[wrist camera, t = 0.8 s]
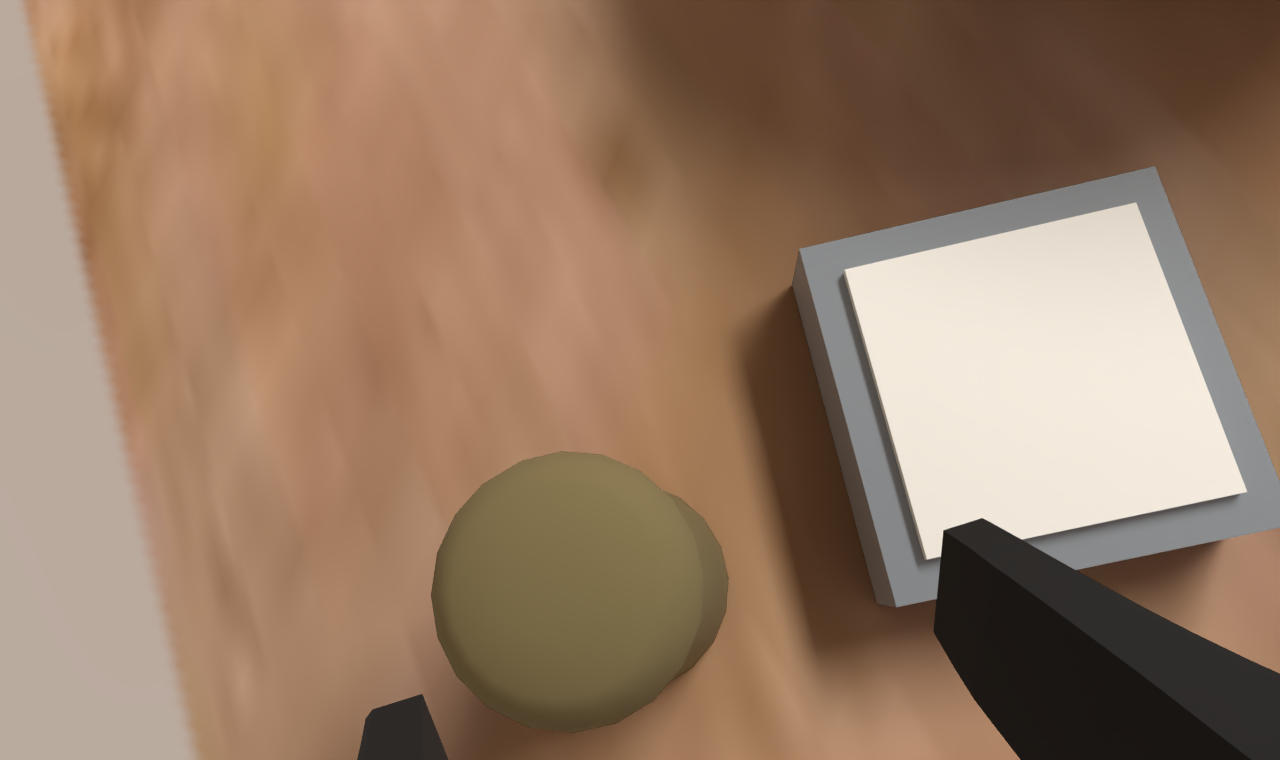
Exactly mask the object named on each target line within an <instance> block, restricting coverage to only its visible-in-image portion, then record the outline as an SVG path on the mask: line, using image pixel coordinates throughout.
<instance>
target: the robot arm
mask: <svg viewBox="0 0 1280 760" xmlns="http://www.w3.org/2000/svg"><path fill="white" fill-rule="evenodd" d="M934 634H935V635H936V637H937V639H938V640H939V642H940V644H941V646H942V647H943V649H944V651H945V652H946V654H947V656H948V658H949V659H950V661H951V663H952V664H953V666H954V668H955V669H956V671H957V673H958V674H959V676H960V677H961V679H962V681H963V682H964V684H965V685H966V687H967V689H968V690H969V692H970V693H971V695H972V697H973V698H974V700H975V701H976V702H977V704H978V705H979V706H980V707H981V709H982V710H983V711H984V713H985V714H986V715H987V717H988V718H989V719H990V721H991V722H992V723H993V725H994V726H995V727H996V728H997V730H998V731H999V732H1000V734H1001V735H1002V736H1003V737H1004V739H1005V740H1006V741H1007V743H1008V744H1009V745H1010V747H1011V748H1012V749H1013V750H1014V752H1015V753H1016V754H1017V756H1018V757H1019V758H1020V759H1021V760H1280V674H1279V673H1277V672H1275V671H1273V670H1270V669H1268V668H1266V667H1264V666H1261V665H1259V664H1257V663H1255V662H1253V661H1250V660H1248V659H1246V658H1244V657H1242V656H1240V655H1238V654H1236V653H1234V652H1232V651H1230V650H1228V649H1226V648H1223V647H1221V646H1219V645H1217V644H1215V643H1213V642H1211V641H1209V640H1207V639H1205V638H1203V637H1201V636H1199V635H1197V634H1195V633H1192V632H1190V631H1188V630H1187V629H1185V628H1183V627H1181V626H1179V625H1177V624H1175V623H1173V622H1171V621H1169V620H1167V619H1165V618H1163V617H1161V616H1159V615H1157V614H1155V613H1153V612H1152V611H1150V610H1148V609H1146V608H1144V607H1142V606H1140V605H1138V604H1136V603H1135V602H1133V601H1131V600H1129V599H1127V598H1125V597H1123V596H1122V595H1120V594H1118V593H1116V592H1114V591H1112V590H1111V589H1109V588H1107V587H1105V586H1103V585H1102V584H1100V583H1098V582H1096V581H1094V580H1092V579H1091V578H1089V577H1087V576H1085V575H1084V574H1082V573H1080V572H1078V571H1076V570H1075V569H1073V568H1071V567H1069V566H1067V565H1066V564H1064V563H1062V562H1060V561H1059V560H1057V559H1055V558H1053V557H1052V556H1050V555H1048V554H1046V553H1044V552H1043V551H1041V550H1039V549H1037V548H1036V547H1034V546H1032V545H1030V544H1029V543H1027V542H1025V541H1023V540H1022V539H1020V538H1018V537H1016V536H1014V535H1013V534H1011V533H1009V532H1007V531H1005V530H1004V529H1002V528H1000V527H998V526H996V525H995V524H993V523H991V522H989V521H987V520H985V519H983V518H981V519H978V520H974V521H971V522H968V523H965V524H962V525H958V526H955V527H952V528H949V529H946V530H943V540H942V550H941V560H940V571H939V581H938V591H937V602H936V612H935V622H934ZM357 760H448V758H447V755H446V753H445V750H444V748H443V745H442V743H441V740H440V738H439V735H438V733H437V730H436V728H435V725H434V723H433V720H432V717H431V715H430V712H429V710H428V707H427V705H426V702H425V700H424V697H423V695H422V694H421V695H417V696H414V697H411V698H408V699H405V700H402V701H398V702H395V703H392V704H389V705H386V706H382V707H379V708H376V709H373V710H372V711H371V712H370V714H369V715H368V716H367V718H366V720H365V725H364V730H363V736H362V741H361V746H360V750H359V755H358V759H357Z"/></svg>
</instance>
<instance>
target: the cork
mask: <svg viewBox="0 0 1280 760" xmlns="http://www.w3.org/2000/svg"><path fill="white" fill-rule="evenodd" d="M727 592H728V574H727V570H726V566H725V562H724V557H723V553H722V549H721V546H720V544H719V542H718V541H717V539H716V537H715V536H714V534H713V532H712V531H711V529H710V528H709V526H708V524H707V523H706V521H705V519H704V518H703V517H702V516H700V515H699V514H698V513H697V512H696V511H695V510H694V509H692V508H691V507H690V506H689V505H688V504H687V503H686V502H684V501H683V500H682V499H681V498H679V497H677V496H674V495H672V494H670V493H667V492H665V491H663V490H662V489H661V488H659V487H658V486H657V485H656V484H655V483H654V482H653V481H651V480H650V479H649V478H648V477H647V476H646V475H645V474H643V473H642V472H641V471H640V470H637V469H635V468H633V467H630V466H628V465H626V464H623V463H621V462H619V461H616V460H614V459H611V458H609V457H607V456H604V455H600V454H588V453H576V452H564V451H561V452H557V453H553V454H548V455H544V456H540V457H536V458H532V459H527V460H523V461H521V462H519V463H517V464H515V465H514V466H512V467H510V468H509V469H507V470H505V471H504V472H502V473H500V474H499V475H497V476H495V477H494V478H492V479H490V480H489V481H487V482H485V483H484V484H482V485H481V486H480V488H479V489H478V490H477V491H476V492H475V493H474V494H473V495H472V497H471V498H470V499H469V500H468V501H467V502H466V503H465V504H464V505H463V507H462V508H461V509H460V510H459V511H458V512H457V513H456V514H455V516H454V518H453V520H452V522H451V525H450V527H449V529H448V531H447V533H446V535H445V537H444V540H443V542H442V544H441V546H440V548H439V550H438V552H437V558H436V564H435V571H434V578H433V585H432V592H431V598H432V605H433V611H434V618H435V625H436V631H437V637H438V640H439V642H440V644H441V646H442V648H443V650H444V652H445V654H446V656H447V658H448V660H449V662H450V664H451V666H452V668H453V670H454V672H455V674H456V676H457V677H458V678H459V679H460V680H461V681H462V682H463V683H464V684H465V685H466V686H467V687H468V688H469V689H470V690H471V691H472V692H473V693H474V694H475V695H476V696H477V697H478V698H479V699H480V700H481V701H482V702H483V703H484V704H485V705H486V706H487V707H489V708H491V709H493V710H495V711H497V712H499V713H501V714H503V715H505V716H507V717H509V718H511V719H513V720H515V721H517V722H519V723H521V724H523V725H525V726H527V727H529V728H537V729H545V730H553V731H561V732H569V733H575V732H579V731H584V730H589V729H593V728H598V727H602V726H607V725H611V724H616V723H617V722H619V721H621V720H622V719H624V718H626V717H627V716H629V715H631V714H632V713H634V712H635V711H637V710H639V709H640V708H642V707H644V706H645V705H647V704H648V703H650V702H652V701H653V700H655V698H656V697H657V696H658V695H659V694H660V692H661V691H662V690H663V689H664V688H665V686H666V685H667V684H668V683H669V682H670V681H671V680H672V679H674V678H676V677H677V676H679V675H681V674H682V673H684V672H686V671H687V670H689V669H690V668H692V667H693V666H694V665H695V664H696V663H697V661H698V660H699V659H700V658H701V657H702V655H703V654H704V653H705V652H706V651H707V649H708V648H709V647H710V646H711V645H712V643H713V642H714V640H715V638H716V635H717V633H718V630H719V628H720V625H721V623H722V620H723V618H724V615H725V613H726V606H727Z"/></svg>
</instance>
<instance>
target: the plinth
mask: <svg viewBox="0 0 1280 760" xmlns="http://www.w3.org/2000/svg"><path fill="white" fill-rule="evenodd" d="M792 286H793V290H794V294H795V298H796V301H797V305H798V309H799V313H800V316H801V320H802V324H803V328H804V332H805V335H806V339H807V343H808V347H809V350H810V354H811V358H812V362H813V365H814V369H815V373H816V377H817V380H818V384H819V388H820V392H821V395H822V399H823V403H824V407H825V410H826V414H827V418H828V422H829V426H830V429H831V433H832V437H833V441H834V444H835V448H836V452H837V456H838V459H839V463H840V467H841V471H842V474H843V478H844V482H845V486H846V489H847V493H848V497H849V501H850V504H851V508H852V512H853V516H854V519H855V523H856V527H857V531H858V535H859V538H860V542H861V546H862V550H863V553H864V557H865V561H866V565H867V568H868V572H869V576H870V580H871V583H872V587H873V591H874V595H875V598H876V602H877V604H880V605H886V606H892V607H900V606H905V605H910V604H915V603H920V602H925V601H929V600H934V599H937V591H938V581H939V571H940V560H941V550H942V540H943V530H946V529H949V528H952V527H955V526H958V525H962V524H965V523H968V522H971V521H974V520H978V519H981V518H983V519H985V520H987V521H989V522H991V523H993V524H995V525H996V526H998V527H1000V528H1002V529H1004V530H1005V531H1007V532H1009V533H1011V534H1013V535H1014V536H1016V537H1018V538H1020V539H1022V540H1023V541H1025V542H1027V543H1029V544H1030V545H1032V546H1034V547H1036V548H1037V549H1039V550H1041V551H1043V552H1044V553H1046V554H1048V555H1050V556H1052V557H1053V558H1055V559H1057V560H1059V561H1060V562H1062V563H1064V564H1066V565H1067V566H1069V567H1071V568H1073V569H1075V570H1078V569H1083V568H1088V567H1093V566H1098V565H1103V564H1107V563H1112V562H1117V561H1122V560H1127V559H1131V558H1136V557H1141V556H1146V555H1151V554H1155V553H1160V552H1165V551H1170V550H1175V549H1179V548H1184V547H1189V546H1194V545H1199V544H1204V543H1208V542H1213V541H1218V540H1223V539H1228V538H1232V537H1237V536H1242V535H1247V534H1252V533H1256V532H1261V531H1266V530H1271V529H1276V528H1280V481H1279V479H1278V476H1277V474H1276V471H1275V469H1274V466H1273V464H1272V461H1271V459H1270V456H1269V454H1268V451H1267V448H1266V446H1265V443H1264V441H1263V438H1262V436H1261V433H1260V431H1259V428H1258V426H1257V423H1256V421H1255V418H1254V416H1253V413H1252V410H1251V408H1250V405H1249V403H1248V400H1247V398H1246V395H1245V393H1244V390H1243V388H1242V385H1241V383H1240V380H1239V378H1238V375H1237V372H1236V370H1235V367H1234V365H1233V362H1232V360H1231V357H1230V355H1229V352H1228V350H1227V347H1226V345H1225V342H1224V340H1223V337H1222V334H1221V332H1220V329H1219V327H1218V324H1217V322H1216V319H1215V317H1214V314H1213V312H1212V309H1211V307H1210V304H1209V302H1208V299H1207V296H1206V294H1205V291H1204V289H1203V286H1202V284H1201V281H1200V279H1199V276H1198V274H1197V271H1196V269H1195V266H1194V264H1193V261H1192V259H1191V256H1190V253H1189V251H1188V248H1187V246H1186V243H1185V241H1184V238H1183V236H1182V233H1181V231H1180V228H1179V226H1178V223H1177V221H1176V218H1175V215H1174V213H1173V210H1172V208H1171V205H1170V203H1169V200H1168V198H1167V195H1166V193H1165V190H1164V188H1163V185H1162V183H1161V180H1160V177H1159V175H1158V172H1157V170H1156V167H1155V166H1154V167H1150V168H1145V169H1141V170H1137V171H1132V172H1128V173H1124V174H1119V175H1115V176H1111V177H1107V178H1102V179H1098V180H1094V181H1089V182H1085V183H1081V184H1076V185H1072V186H1068V187H1063V188H1059V189H1055V190H1051V191H1046V192H1042V193H1038V194H1033V195H1029V196H1025V197H1020V198H1016V199H1012V200H1008V201H1003V202H999V203H995V204H990V205H986V206H982V207H977V208H973V209H969V210H965V211H960V212H956V213H952V214H947V215H943V216H939V217H934V218H930V219H926V220H922V221H917V222H913V223H909V224H904V225H900V226H896V227H891V228H887V229H883V230H878V231H874V232H870V233H866V234H861V235H857V236H853V237H848V238H844V239H840V240H835V241H831V242H827V243H823V244H818V245H814V246H810V247H805V248H801V249H799V253H798V258H797V263H796V267H795V272H794V277H793V282H792Z"/></svg>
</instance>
